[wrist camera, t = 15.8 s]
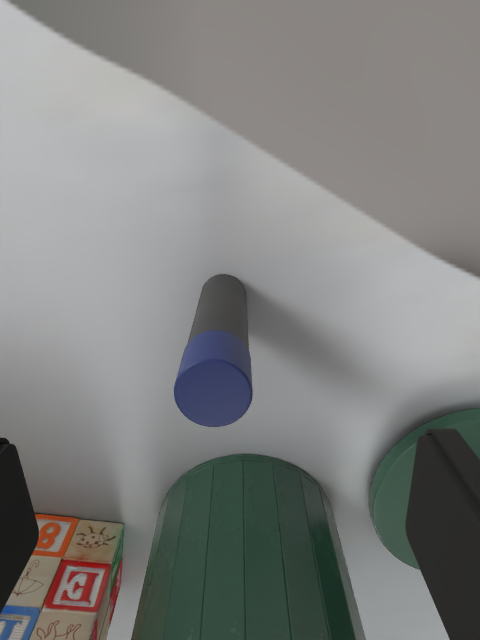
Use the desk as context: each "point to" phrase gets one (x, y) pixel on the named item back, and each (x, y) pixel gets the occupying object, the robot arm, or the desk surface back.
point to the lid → (396, 480)
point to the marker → (217, 357)
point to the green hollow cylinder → (247, 558)
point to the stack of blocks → (67, 582)
